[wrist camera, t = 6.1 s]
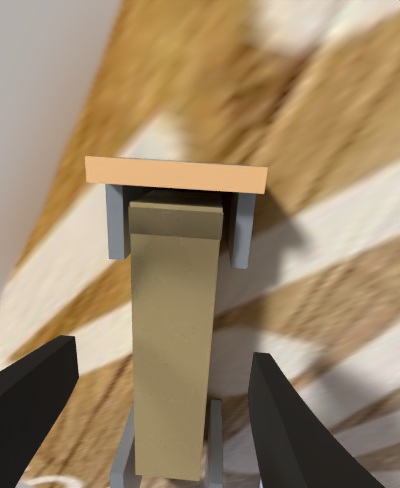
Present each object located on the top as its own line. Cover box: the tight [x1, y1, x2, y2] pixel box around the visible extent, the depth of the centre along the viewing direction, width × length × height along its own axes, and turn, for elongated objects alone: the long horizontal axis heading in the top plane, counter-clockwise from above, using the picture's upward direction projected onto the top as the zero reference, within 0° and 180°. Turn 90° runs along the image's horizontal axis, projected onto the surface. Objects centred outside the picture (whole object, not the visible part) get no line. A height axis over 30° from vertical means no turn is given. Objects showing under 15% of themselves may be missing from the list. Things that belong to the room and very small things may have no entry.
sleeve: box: [110, 399, 223, 488], centre depth 19 cm, size 7×7×6 cm
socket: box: [85, 156, 268, 269], centre depth 14 cm, size 5×7×6 cm
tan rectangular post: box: [128, 190, 223, 481], centre depth 16 cm, size 17×4×5 cm, turn 177°
